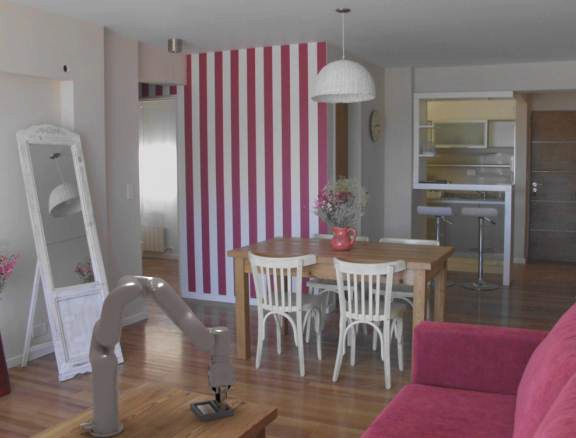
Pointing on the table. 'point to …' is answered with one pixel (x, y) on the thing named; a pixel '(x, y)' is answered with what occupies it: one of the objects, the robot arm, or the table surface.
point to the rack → (210, 416)
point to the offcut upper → (205, 409)
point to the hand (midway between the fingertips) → (221, 401)
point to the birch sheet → (222, 398)
